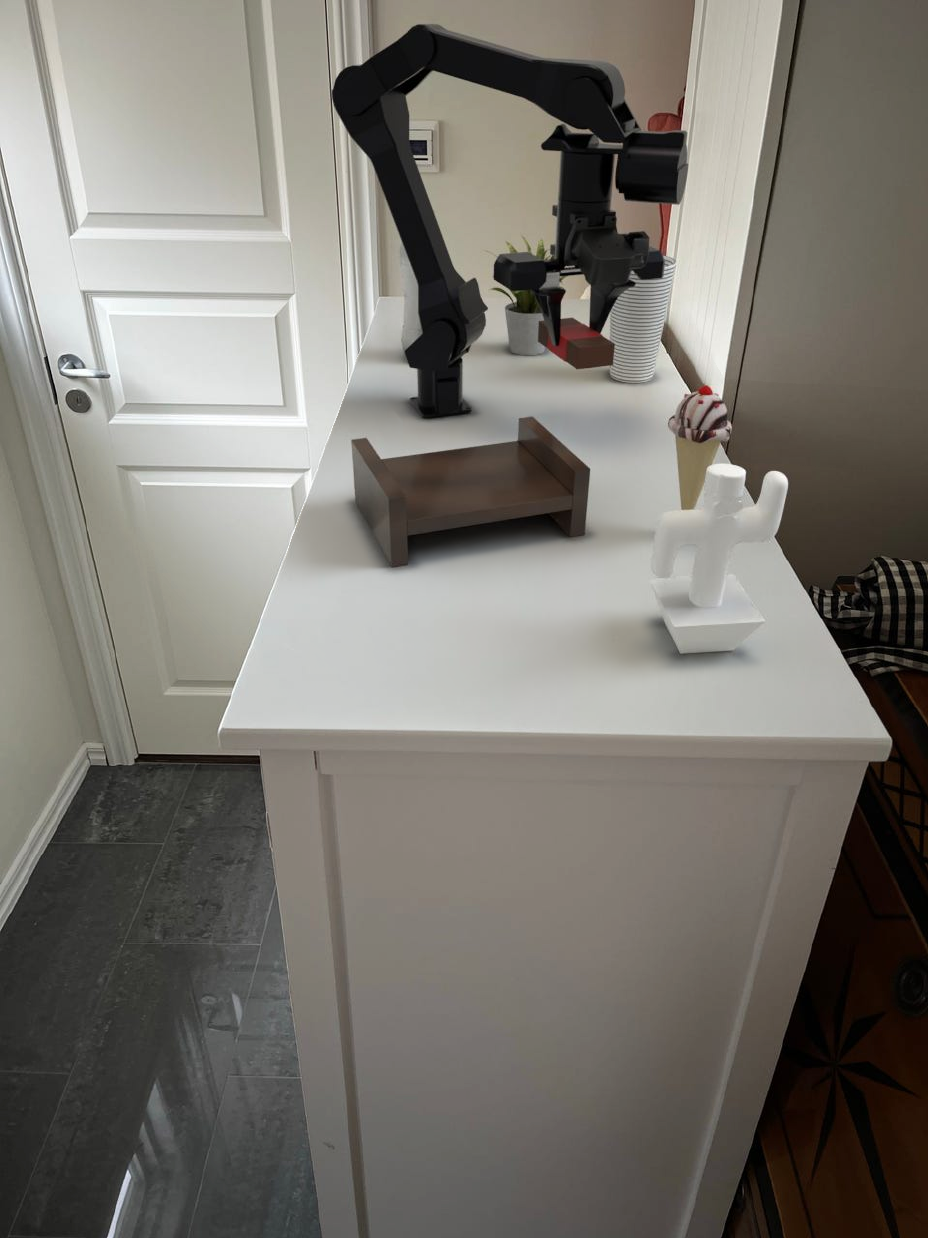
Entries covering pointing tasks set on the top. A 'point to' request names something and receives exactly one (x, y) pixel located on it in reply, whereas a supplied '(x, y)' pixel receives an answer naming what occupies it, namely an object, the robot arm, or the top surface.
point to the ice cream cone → (697, 440)
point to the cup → (640, 326)
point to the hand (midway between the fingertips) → (574, 343)
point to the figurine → (713, 560)
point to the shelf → (469, 487)
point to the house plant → (524, 313)
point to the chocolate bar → (579, 345)
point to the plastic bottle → (409, 302)
